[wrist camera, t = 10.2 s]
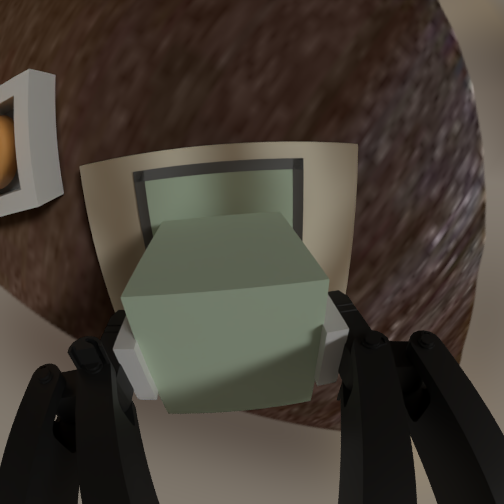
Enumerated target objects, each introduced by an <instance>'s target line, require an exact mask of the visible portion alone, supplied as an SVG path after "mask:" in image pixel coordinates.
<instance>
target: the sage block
mask: <svg viewBox="0 0 504 504" xmlns="http://www.w3.org/2000/svg"><path fill="white" fill-rule="evenodd" d="M328 288H329V278H328V276H327V275H326V274H325V272H324V271H323V269H322V268H321V267H320V265H319V264H318V262H317V261H316V260H315V258H314V257H313V255H312V254H311V253H310V251H309V250H308V249H307V247H306V246H305V244H304V243H303V242H302V240H301V239H300V238H299V236H298V235H297V234H296V232H295V231H294V230H293V228H292V227H291V226H290V224H289V223H288V222H287V220H286V219H285V218H284V216H283V215H282V214H281V212H280V211H279V212H263V213H249V214H236V215H224V216H212V217H201V218H190V219H180V220H170V221H163V222H162V223H161V225H160V227H159V228H158V230H157V232H156V233H155V235H154V237H153V239H152V240H151V242H150V244H149V245H148V247H147V249H146V251H145V252H144V254H143V256H142V258H141V259H140V261H139V263H138V265H137V267H136V269H135V270H134V272H133V274H132V276H131V278H130V280H129V282H128V283H127V285H126V287H125V289H124V291H123V293H122V295H121V297H120V298H121V301H122V304H123V307H124V310H125V313H126V316H127V318H128V321H129V324H130V327H131V330H132V332H133V335H134V338H135V340H137V342H138V345H139V347H140V350H141V352H142V355H143V357H144V360H145V362H146V364H147V367H148V369H149V371H150V374H151V376H152V378H153V381H154V383H155V385H156V387H157V389H158V394H159V396H160V398H161V400H162V401H163V404H164V406H165V408H166V410H167V412H168V413H173V414H174V413H175V414H176V413H177V414H179V413H180V414H184V413H185V414H186V413H216V412H231V411H242V410H252V409H261V408H269V407H276V406H282V405H289V404H295V403H300V402H306V401H311V397H312V392H313V387H314V381H315V378H314V375H315V369H316V364H317V358H318V352H319V345H320V339H321V332H322V325H323V324H324V320H325V313H326V305H327V297H328Z"/></svg>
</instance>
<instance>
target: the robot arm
mask: <svg viewBox="0 0 504 504" xmlns="http://www.w3.org/2000/svg"><path fill="white" fill-rule="evenodd" d="M68 354H69V355H70V357H71V359H72V361H73V363H74V364H75V366H76V368H77V370H72V371H67V372H62V373H61V371H60V370H59V368H58V367H57V366H56V365H54V364H45V365H43V366H40V367H39V368H38V369H37V370H36V371H35V372H34V374H33V375H32V378H31V380H30V382H29V384H28V387H27V389H26V391H25V394H24V396H23V399H22V401H21V404H20V406H19V409H18V411H17V414H16V417H15V419H14V422H13V425H12V428H11V431H10V434H9V437H8V440H7V444H6V447H5V451H4V454H3V458H2V462H1V466H0V504H78V493H79V485H80V492H81V499H82V504H159V501H158V498H157V495H156V492H155V489H154V485H153V482H152V479H151V475H150V472H149V468H148V464H147V460H146V456H145V452H144V448H143V443H142V439H141V434H140V429H139V424H138V419H137V413H136V408H135V405H134V403H133V401H132V396H133V392H135V394H136V396H137V398H138V399H144V400H157V396H158V389H157V387H156V385H155V383H154V381H153V378H152V376H151V374H150V371H149V369H148V367H147V364H146V362H145V360H144V357H143V355H142V352H141V350H140V347H139V345H138V342H137V340H135V338H134V335H133V332H132V330H131V327H130V324H129V321H128V318H127V316H126V313H125V310H118V311H117V312H116V313H115V314H114V315H112V316H111V318H110V320H109V322H108V324H107V327H106V328H105V331H104V333H103V335H102V337H101V339H100V340H99V339H98V338H97V337H93V336H86V337H83V338H79V339H78V340H76V341H75V342H73V343H72V345H71V346H70V347H69V350H68ZM338 373H339V374H340V376H341V379H342V384H341V387H340V390H339V394H338V397H337V400H340V398H341V462H340V484H339V499H338V504H417V494H416V480H415V469H414V460H413V452H412V445H411V439H410V436H411V438H412V440H413V442H414V445H415V447H416V449H417V452H418V454H419V457H420V459H421V462H422V464H423V467H424V469H425V471H426V474H427V476H428V479H429V482H430V484H431V487H432V490H433V493H434V495H435V498H436V501H437V504H504V435H503V433H502V431H501V430H500V428H499V426H498V424H497V423H496V421H495V419H494V418H493V416H492V414H491V413H490V411H489V409H488V408H487V406H486V405H485V403H484V401H483V400H482V398H481V397H480V395H479V394H478V392H477V390H476V389H475V387H474V386H473V384H472V383H471V381H470V380H469V379H468V377H467V376H466V374H465V373H464V371H463V370H462V369H461V367H460V366H459V364H458V363H457V361H456V360H455V359H454V357H453V356H452V355H451V353H450V352H449V351H448V349H447V348H446V347H445V345H444V344H443V343H442V341H441V340H440V339H439V338H438V337H437V336H436V335H435V334H433V333H431V332H429V331H424V330H423V331H417V332H414V333H413V334H412V335H411V336H410V339H409V341H389V340H388V338H387V337H386V336H385V335H384V334H382V333H380V332H378V331H373V330H371V329H370V327H369V326H368V324H367V323H366V321H365V320H364V319H363V317H362V316H361V314H360V313H359V311H358V310H357V309H356V307H355V306H354V304H353V303H352V301H351V300H350V299H349V297H348V296H347V295H345V294H344V293H342V292H341V291H339V290H337V291H329V292H328V297H327V305H326V313H325V320H324V324H323V325H322V332H321V339H320V345H319V352H318V358H317V364H316V369H315V375H314V378H315V381H316V384H317V386H319V385H324V384H328V383H333V382H336V380H337V377H338ZM56 415H57V416H58V417H57V419H56V421H54V420H55V416H56Z"/></svg>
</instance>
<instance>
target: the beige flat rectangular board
mask: <svg viewBox="0 0 504 504" xmlns="http://www.w3.org/2000/svg"><path fill="white" fill-rule="evenodd" d="M357 166H358V144H352V143H334V142H250V143H232V144H218V145H206V146H196V147H186V148H178V149H170V150H162V151H155V152H149V153H142V154H136V155H131V156H125V157H120V158H114V159H109V160H105V161H100V162H95V163H91V164H86V165H83V166H80V173H81V180H82V186H83V193H84V198H85V204H86V209H87V214H88V219H89V224H90V228H91V232H92V237H93V241H94V245H95V249H96V253H97V256H98V260H99V264H100V267H101V271H102V274H103V277H104V281H105V284H106V287H107V290H108V293H109V296H110V299H111V302H112V305H113V308H114V311H115V313H116V312H117V311H118V310H124V307H123V304H122V301H121V298H120V297H121V295H122V293H123V291H124V289H125V287H126V285H127V283H128V282H129V280H130V278H131V276H132V274H133V272H134V270H135V269H136V267H137V265H138V263H139V261H140V259H141V258H142V256H143V254H144V252H145V251H146V249H147V247H148V245H149V244H150V242H151V240H152V239H153V237H154V235H155V233H156V232H157V230H158V228H159V227H160V225H161V223H162V222H163V221H170V220H180V219H190V218H201V217H212V216H224V215H236V214H249V213H263V212H279V211H280V212H281V214H282V215H283V216H284V218H285V219H286V220H287V222H288V223H289V224H290V226H291V227H292V228H293V230H294V231H295V232H296V234H297V235H298V236H299V238H300V239H301V240H302V242H303V243H304V244H305V246H306V247H307V249H308V250H309V251H310V253H311V254H312V255H313V257H314V258H315V260H316V261H317V262H318V264H319V265H320V267H321V268H322V269H323V271H324V272H325V274H326V275H327V276H328V278H329V288H328V292H329V291H337V290H339V291H341V292H342V293H344V294H346V288H347V281H348V274H349V266H350V258H351V249H352V240H353V230H354V219H355V206H356V189H357Z"/></svg>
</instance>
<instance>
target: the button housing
mask: <svg viewBox="0 0 504 504" xmlns="http://www.w3.org/2000/svg"><path fill="white" fill-rule="evenodd" d="M0 115H6V116H9V117H10V118H12V119H13V121H14V134H15V148H16V159H17V167H18V168H17V171H16V174H15V176H14V178H13V179H12V181H11V182H10V183H9V184H8V185H7V186H6V187H5V188H3V189H0V217H2V216H5V215H9V214H13V213H16V212H20V211H24V210H28V209H32V208H36V207H39V206H41V205H43V204H45V203H47V202H49V201H51V200H53V199H55V198H57V197H59V196H61V195H63V194H64V191H63V185H62V179H61V172H60V165H59V156H58V147H57V135H56V117H55V75H53V74H49V73H45V72H41V71H37V70H32V69H28V70H26V71H24V72H23V73H21V74H19V75H17V76H15V77H14V78H12V79H10V80H9V81H7V82H5V83H4V84H2V85H0Z"/></svg>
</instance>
